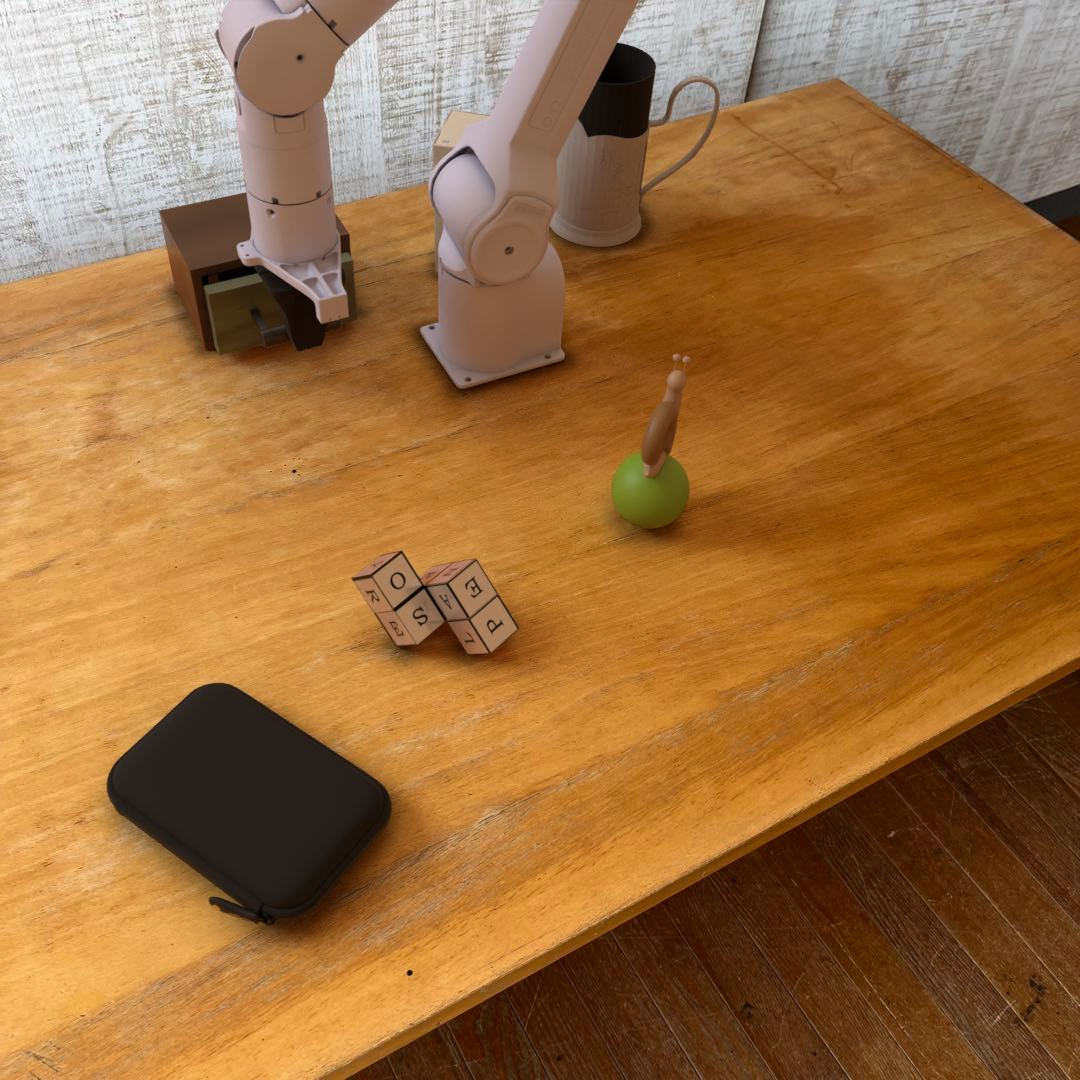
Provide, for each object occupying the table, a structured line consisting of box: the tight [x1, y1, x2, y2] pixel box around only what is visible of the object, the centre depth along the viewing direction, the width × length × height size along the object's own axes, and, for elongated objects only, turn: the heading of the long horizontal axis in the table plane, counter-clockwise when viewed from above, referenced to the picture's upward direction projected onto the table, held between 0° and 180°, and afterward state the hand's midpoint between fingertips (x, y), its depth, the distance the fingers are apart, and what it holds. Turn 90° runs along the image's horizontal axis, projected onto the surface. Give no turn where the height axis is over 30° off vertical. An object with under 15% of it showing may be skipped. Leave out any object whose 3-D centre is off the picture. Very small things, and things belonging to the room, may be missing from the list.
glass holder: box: [549, 42, 721, 248], centre depth 103 cm, size 9×14×15 cm, turn 96°
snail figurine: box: [610, 353, 692, 529], centre depth 79 cm, size 5×6×12 cm
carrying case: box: [106, 682, 393, 927], centre depth 65 cm, size 11×3×15 cm
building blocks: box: [351, 550, 520, 656], centre depth 73 cm, size 5×5×8 cm
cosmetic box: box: [432, 109, 491, 274], centre depth 98 cm, size 6×4×12 cm
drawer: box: [202, 252, 358, 356], centre depth 92 cm, size 12×11×6 cm
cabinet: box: [158, 191, 352, 351], centre depth 94 cm, size 9×13×8 cm
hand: (307, 343), depth 88 cm, fingers closed
